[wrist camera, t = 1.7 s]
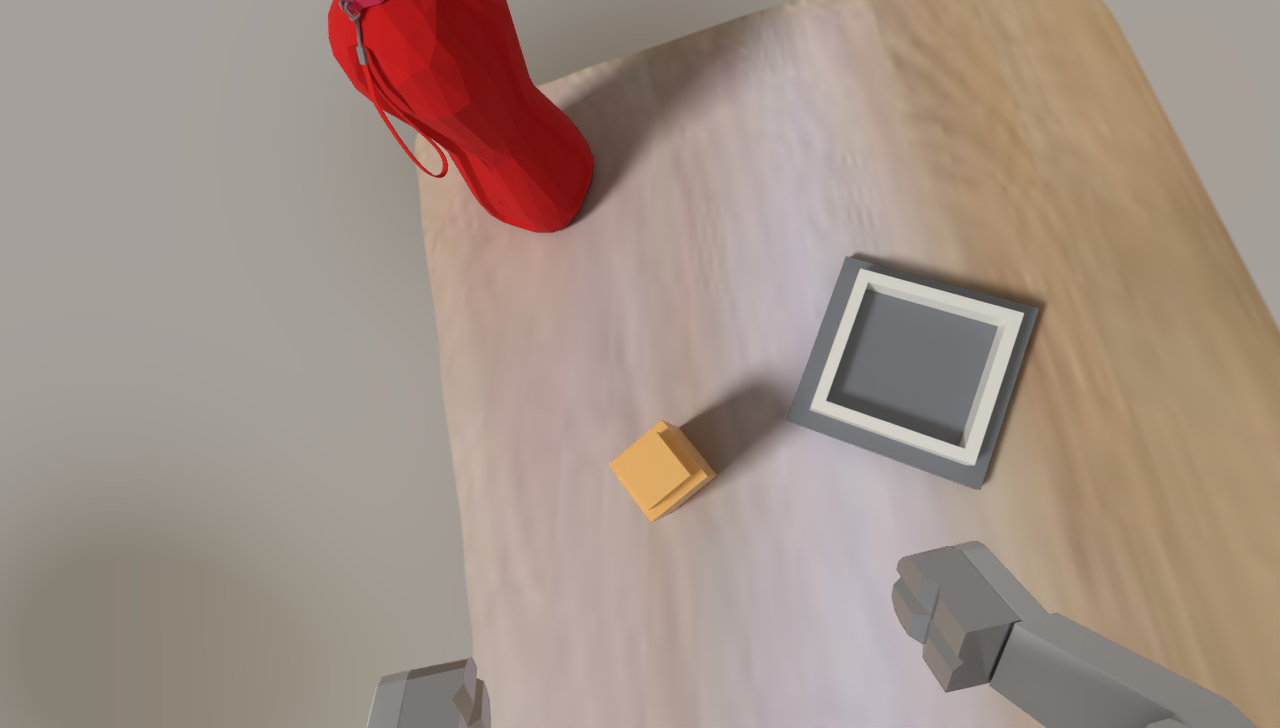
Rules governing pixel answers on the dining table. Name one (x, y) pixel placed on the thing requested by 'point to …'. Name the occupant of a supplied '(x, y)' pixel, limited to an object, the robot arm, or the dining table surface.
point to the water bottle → (467, 101)
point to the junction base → (914, 369)
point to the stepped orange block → (662, 470)
